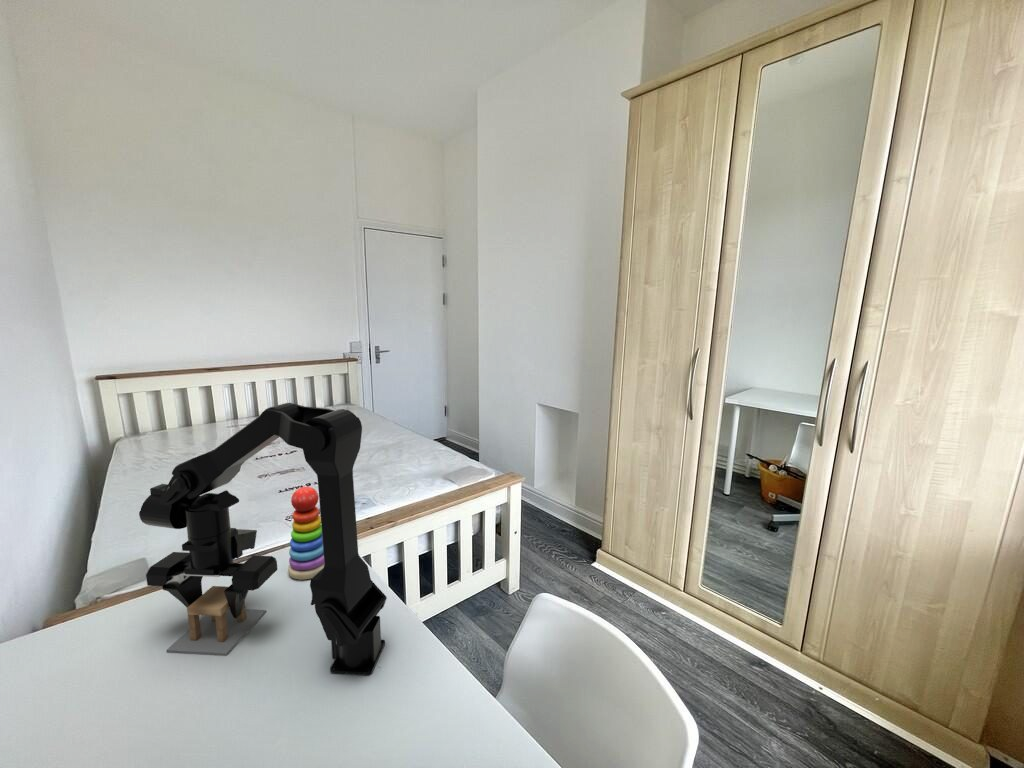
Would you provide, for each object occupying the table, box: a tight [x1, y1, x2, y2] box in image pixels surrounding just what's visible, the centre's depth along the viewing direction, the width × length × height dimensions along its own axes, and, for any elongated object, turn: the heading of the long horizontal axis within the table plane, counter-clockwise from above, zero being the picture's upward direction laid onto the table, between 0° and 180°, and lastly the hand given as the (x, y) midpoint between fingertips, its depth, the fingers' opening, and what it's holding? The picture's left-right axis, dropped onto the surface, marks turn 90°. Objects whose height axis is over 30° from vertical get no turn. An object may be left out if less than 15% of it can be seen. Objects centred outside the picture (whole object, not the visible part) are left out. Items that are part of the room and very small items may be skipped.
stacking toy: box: [287, 486, 324, 581], centre depth 87 cm, size 8×8×19 cm
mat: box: [165, 608, 267, 657], centre depth 71 cm, size 10×10×1 cm
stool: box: [186, 585, 247, 642], centre depth 71 cm, size 6×6×6 cm
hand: (218, 615), depth 71 cm, fingers open, 6 cm apart
